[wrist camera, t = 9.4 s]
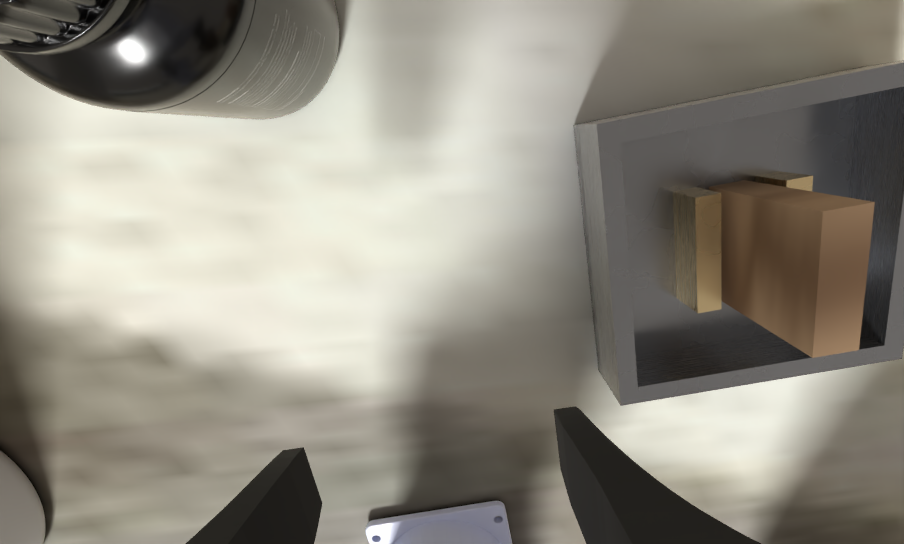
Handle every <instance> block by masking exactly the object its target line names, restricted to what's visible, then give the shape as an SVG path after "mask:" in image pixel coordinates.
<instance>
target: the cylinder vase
mask: <svg viewBox="0 0 904 544" xmlns="http://www.w3.org/2000/svg"><path fill="white" fill-rule="evenodd" d="M44 538H45V515H44V511H43V507H42V504H41V501H40V499H39V496H38V494H37V492H36V490H35V488H34V487H33V485H32V484H31V482H30V481H29V479H28V478H27V476H26V475H25V474H24V473H23V471H22V470H21V469H20V468H19V467H18V466H17V465H16V464H15V463H14V462H13V461H12V460H11V459H10V458H9V457H8V456H7V455H6V454H4V453H3V452H2V451H1V450H0V544H43V543H44Z"/></svg>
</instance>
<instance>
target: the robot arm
mask: <svg viewBox="0 0 904 544" xmlns="http://www.w3.org/2000/svg"><path fill="white" fill-rule="evenodd" d="M554 415H555V424H556V432H557V441H558V449H559V458H560V467H561V471H562V475H563V479H564V482H565V486H566V489H567V493H568V496H569V500H570V503H571V506H572V509H573V511H574V514H575V516H576V519H577V521H578V524H579V526H580V529H581V531H582V534H583V536H584V539H585V541H586V544H761V543H759V542H757V541H755V540H753V539H751V538H749V537H747V536H745V535H743V534H741V533H739V532H738V531H736V530H734V529H732V528H730V527H729V526H727V525H725V524H723V523H722V522H720V521H718V520H717V519H715V518H713V517H711V516H710V515H708V514H706V513H705V512H703V511H701V510H700V509H698V508H696V507H695V506H693V505H692V504H690V503H689V502H687V501H686V500H684V499H683V498H681V497H680V496H678V495H677V494H676V493H674V492H673V491H671V490H670V489H668V488H667V487H666V486H664V485H663V484H662V483H660V482H659V481H658V480H656V479H655V478H654V477H653V476H651V475H650V474H649V473H647V472H646V471H645V470H644V469H642V468H641V467H640V466H639V465H638V464H636V463H635V462H634V461H633V460H632V459H630V458H629V457H628V456H627V455H626V454H625V453H624V452H623V451H621V450H620V449H619V448H618V447H617V446H616V445H615V444H614V443H613V442H611V441H610V440H609V439H608V438H607V437H606V436H605V435H604V434H603V433H602V432H601V431H600V430H599V429H598V428H597V427H596V426H595V425H594V424H593V423H592V422H591V421H590V420H589V419H588V418H587V417H586V416H585V415H584V413H583V412H582V411H581V410H580V409H578V408H577V407H576V406H575V407H569V408H562V409H556V410H554ZM321 507H322V501H321V498H320V495H319V492H318V489H317V486H316V483H315V480H314V477H313V474H312V471H311V468H310V465H309V462H308V459H307V456H306V453H305V450H304V447H303V448H296V449H290V450H283V451H282V452H281V453H280V454H279V455H278V456H276V457H275V458H274V459H273V460H272V461H271V462H270V463H269V464H268V465H267V466H266V467H265V468H264V469H263V470H262V471H261V472H260V473H259V474H258V475H257V476H256V477H255V478H254V479H253V480H252V481H251V482H250V483H249V484H248V485H247V486H246V487H245V488H244V489H243V490H242V491H241V492H240V493H239V494H238V495H237V496H236V497H235V498H234V499H233V500H232V501H231V502H230V503H229V504H228V505H227V506H226V507H225V508H224V509H223V510H222V511H221V512H220V513H218V514H217V515H216V516H215V517H214V518H213V519H212V520H211V521H210V522H209V523H208V524H207V525H206V526H204V527H203V528H202V529H201V530H200V531H199V532H198V533H197V534H196V535H195V536H194V537H193V538H192V539H190V540H189V541H188V542H187V543H186V544H314V541H315V537H316V532H317V528H318V523H319V518H320V512H321ZM496 516H500V517H496ZM365 531H366V535H367V538H368V541H369V544H512V539H511V534H510V529H509V524H508V519H507V514H506V509H505V505H504V504H503V503H502V502H500V501H490V502H484V503H477V504H471V505H465V506H459V507H452V508H446V509H440V510H433V511H427V512H421V513H414V514H408V515H402V516H395V517H389V518H383V519H377V520H372V521H369V522H368V523H367V525H366V530H365ZM375 535H378V536H375Z"/></svg>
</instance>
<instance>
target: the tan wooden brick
mask: <svg viewBox="0 0 904 544" xmlns="http://www.w3.org/2000/svg"><path fill="white" fill-rule="evenodd" d="M709 190H710V191H715V192H719V193H721V301H722V302H724V303H725V304H727V305H729V306H730V307H732V308H733V309H735V310H737V311H738V312H740V313H741V314H743V315H745V316H746V317H748V318H749V319H751V320H753V321H754V322H756V323H757V324H759V325H761V326H762V327H764V328H765V329H767V330H769V331H770V332H772V333H773V334H775V335H777V336H778V337H780V338H781V339H783V340H785V341H786V342H788V343H789V344H791V345H793V346H794V347H796V348H797V349H799V350H801V351H802V352H804V353H805V354H807V355H809V356H810V357H812V358H815V357H821V356H827V355H833V354H839V353H845V352H851V351H857V350H859V345H860V335H861V326H862V317H863V307H864V298H865V289H866V279H867V270H868V261H869V252H870V242H871V233H872V224H873V214H874V205H875V202H872V201H866V200H860V199H854V198H848V197H842V196H836V195H830V194H824V193H818V192H812V191H806V190H800V189H794V188H788V187H782V186H776V185H770V184H765V183H759V182H753V181H747V180H742V181H737V182H732V183H726V184H721V185H716V186H711V187H709Z"/></svg>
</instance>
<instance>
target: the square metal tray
mask: <svg viewBox="0 0 904 544" xmlns="http://www.w3.org/2000/svg"><path fill="white" fill-rule="evenodd" d="M574 133H575V143H576V153H577V163H578V173H579V182H580V192H581V202H582V212H583V222H584V232H585V242H586V251H587V261H588V271H589V281H590V291H591V301H592V311H593V320H594V330H595V340H596V350H597V360H598V370H599V372H600V373H601V375H602V376H603V378H604V380H605V381H606V383H607V384H608V386H609V388H610V389H611V391H612V392H613V394H614V396H615V397H616V399H617V400H618V402H619V404H620V405H627V404H633V403H639V402H645V401H651V400H657V399H663V398H669V397H675V396H681V395H687V394H693V393H699V392H705V391H711V390H717V389H723V388H729V387H735V386H741V385H747V384H753V383H759V382H765V381H771V380H777V379H783V378H789V377H795V376H801V375H807V374H813V373H819V372H825V371H831V370H837V369H843V368H849V367H855V366H861V365H866V364H872V363H878V362H884V361H890V360H896V359H902V353H903V346H904V61H897V62H891V63H884V64H878V65H871V66H865V67H860V68H855V69H850V70H845V71H840V72H835V73H830V74H825V75H820V76H815V77H810V78H805V79H800V80H795V81H790V82H785V83H780V84H776V85H771V86H766V87H761V88H756V89H751V90H746V91H741V92H736V93H731V94H726V95H721V96H716V97H711V98H706V99H701V100H696V101H691V102H686V103H681V104H676V105H671V106H666V107H661V108H656V109H651V110H646V111H641V112H636V113H632V114H627V115H622V116H617V117H612V118H607V119H602V120H597V121H592V122H587V123H582V124H577V125H574ZM742 180H747V181H753V182H759V183H765V184H770V185H776V186H782V187H788V188H794V189H800V190H806V191H812V192H818V193H824V194H830V195H836V196H842V197H848V198H854V199H860V200H866V201H872V202H875V205H874V214H873V224H872V233H871V242H870V252H869V261H868V270H867V279H866V289H865V298H864V307H863V317H862V326H861V335H860V345H859V350H857V351H851V352H845V353H839V354H833V355H827V356H821V357H815V358H812V357H810V356H809V355H807V354H805V353H804V352H802V351H801V350H799V349H797V348H796V347H794V346H793V345H791V344H789V343H788V342H786V341H785V340H783V339H781V338H780V337H778V336H777V335H775V334H773V333H772V332H770V331H769V330H767V329H765V328H764V327H762V326H761V325H759V324H757V323H756V322H754V321H753V320H751V319H749V318H748V317H746V316H745V315H743V314H741V313H740V312H738V311H737V310H735V309H733V308H732V307H730V306H729V305H727V304H725V303H724V302H722V301H721V193H719V192H715V191H710V190H709V187H711V186H716V185H721V184H726V183H732V182H737V181H742Z"/></svg>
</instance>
